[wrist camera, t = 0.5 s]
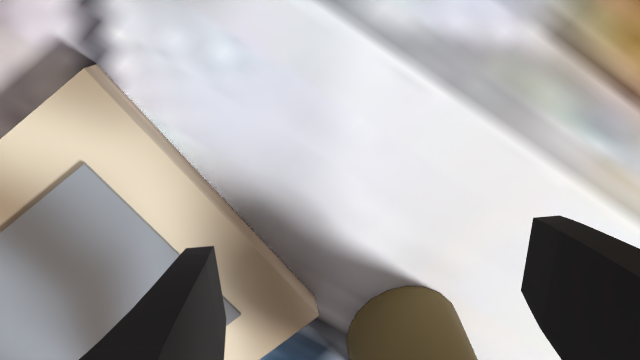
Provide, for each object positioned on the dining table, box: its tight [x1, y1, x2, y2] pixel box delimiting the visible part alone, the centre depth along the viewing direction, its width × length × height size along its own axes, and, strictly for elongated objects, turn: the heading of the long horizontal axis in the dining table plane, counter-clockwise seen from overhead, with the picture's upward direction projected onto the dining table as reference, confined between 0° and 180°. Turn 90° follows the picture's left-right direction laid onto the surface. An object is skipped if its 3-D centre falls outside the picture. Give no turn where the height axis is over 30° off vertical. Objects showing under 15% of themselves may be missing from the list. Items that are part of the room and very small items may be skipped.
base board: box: [0, 64, 319, 360], centre depth 20 cm, size 14×14×2 cm
